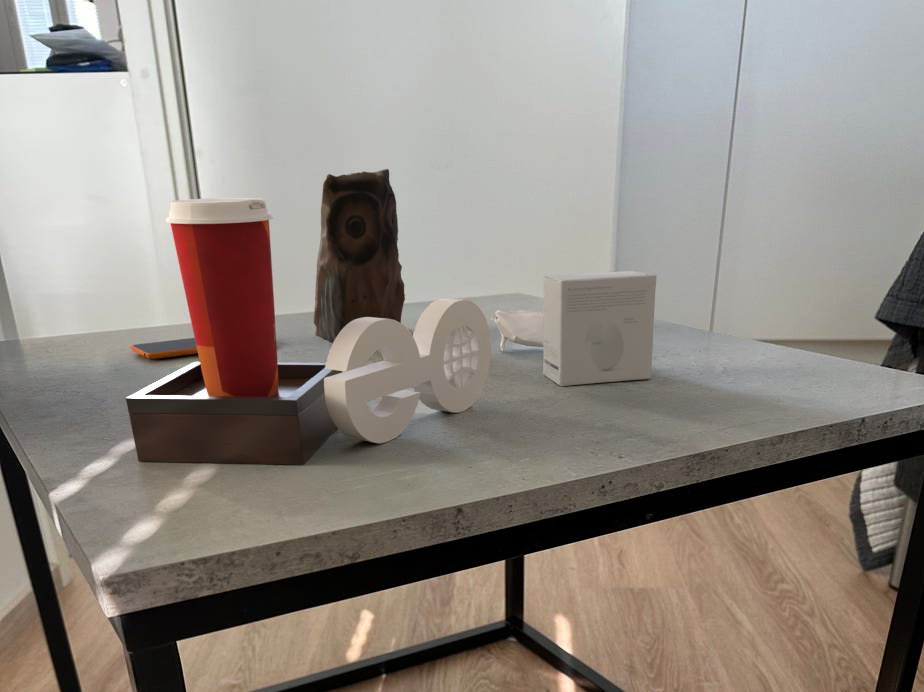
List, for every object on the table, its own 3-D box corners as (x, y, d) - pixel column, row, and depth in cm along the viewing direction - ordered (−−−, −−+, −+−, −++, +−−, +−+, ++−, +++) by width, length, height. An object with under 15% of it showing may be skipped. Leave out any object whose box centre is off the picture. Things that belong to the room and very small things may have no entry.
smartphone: (276, 344, 120) (276, 337, 119) (148, 361, 111) (147, 354, 111) (253, 336, 125) (252, 329, 125) (129, 351, 117) (128, 344, 116)
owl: (405, 328, 129) (396, 168, 120) (420, 344, 118) (412, 170, 109) (314, 333, 127) (298, 170, 117) (321, 350, 116) (304, 172, 106)
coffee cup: (309, 385, 81) (290, 197, 74) (260, 407, 74) (234, 202, 67) (227, 379, 84) (201, 197, 77) (172, 401, 77) (138, 202, 70)
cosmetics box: (629, 367, 104) (635, 268, 99) (652, 380, 99) (659, 275, 94) (540, 374, 102) (542, 272, 97) (559, 387, 96) (561, 280, 91)
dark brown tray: (137, 461, 76) (125, 398, 73) (203, 417, 88) (194, 361, 85) (303, 465, 74) (296, 400, 72) (346, 419, 86) (341, 362, 84)
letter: (473, 397, 93) (471, 291, 88) (491, 399, 92) (490, 293, 87) (330, 452, 77) (318, 327, 72) (350, 456, 76) (340, 329, 71)
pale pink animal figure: (504, 368, 111) (585, 345, 110) (489, 310, 109) (572, 286, 108) (503, 368, 116) (580, 345, 115) (489, 312, 114) (567, 289, 113)
